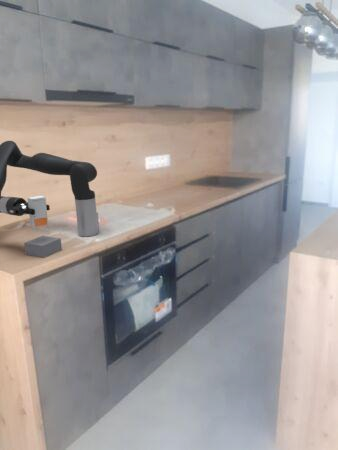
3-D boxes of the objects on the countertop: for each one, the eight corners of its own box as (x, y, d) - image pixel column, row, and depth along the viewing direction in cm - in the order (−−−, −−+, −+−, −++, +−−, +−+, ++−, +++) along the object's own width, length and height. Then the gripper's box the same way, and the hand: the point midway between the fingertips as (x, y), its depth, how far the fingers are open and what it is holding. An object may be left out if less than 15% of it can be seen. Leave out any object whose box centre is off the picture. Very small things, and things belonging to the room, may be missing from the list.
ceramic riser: (44, 246, 158) (42, 235, 156) (61, 249, 153) (60, 238, 152) (25, 254, 149) (24, 242, 148) (43, 257, 145) (42, 245, 143)
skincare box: (33, 228, 145) (30, 199, 141) (30, 226, 148) (26, 197, 145) (49, 226, 148) (45, 197, 145) (45, 223, 151) (42, 195, 148)
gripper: (27, 210, 160) (56, 214, 152) (-1, 218, 147) (28, 223, 140) (25, 193, 157) (54, 197, 150) (-4, 200, 145) (26, 204, 138)
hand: (41, 209), depth 145 cm, fingers closed on skincare box, 7 cm apart
